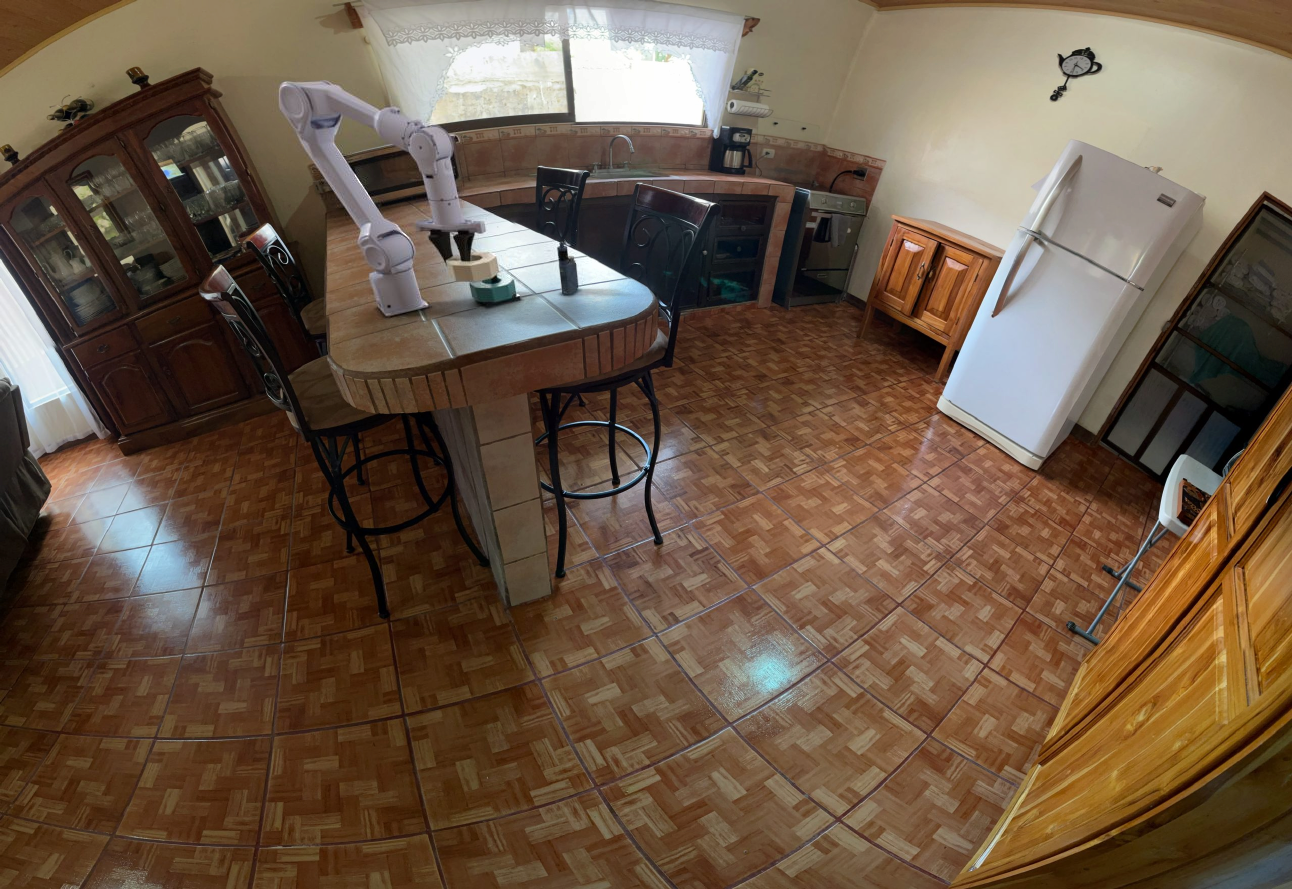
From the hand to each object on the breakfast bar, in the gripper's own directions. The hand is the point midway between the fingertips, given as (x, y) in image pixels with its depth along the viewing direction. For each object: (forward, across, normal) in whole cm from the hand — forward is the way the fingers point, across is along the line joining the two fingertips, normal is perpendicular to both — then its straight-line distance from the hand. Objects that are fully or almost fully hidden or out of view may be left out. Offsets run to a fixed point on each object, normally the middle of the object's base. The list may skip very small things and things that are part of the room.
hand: (459, 267), depth 109 cm
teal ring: (+9, -2, -9) cm, 13 cm away
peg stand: (+10, -3, -10) cm, 14 cm away
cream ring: (+1, -3, 0) cm, 3 cm away
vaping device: (+10, -19, -16) cm, 27 cm away
